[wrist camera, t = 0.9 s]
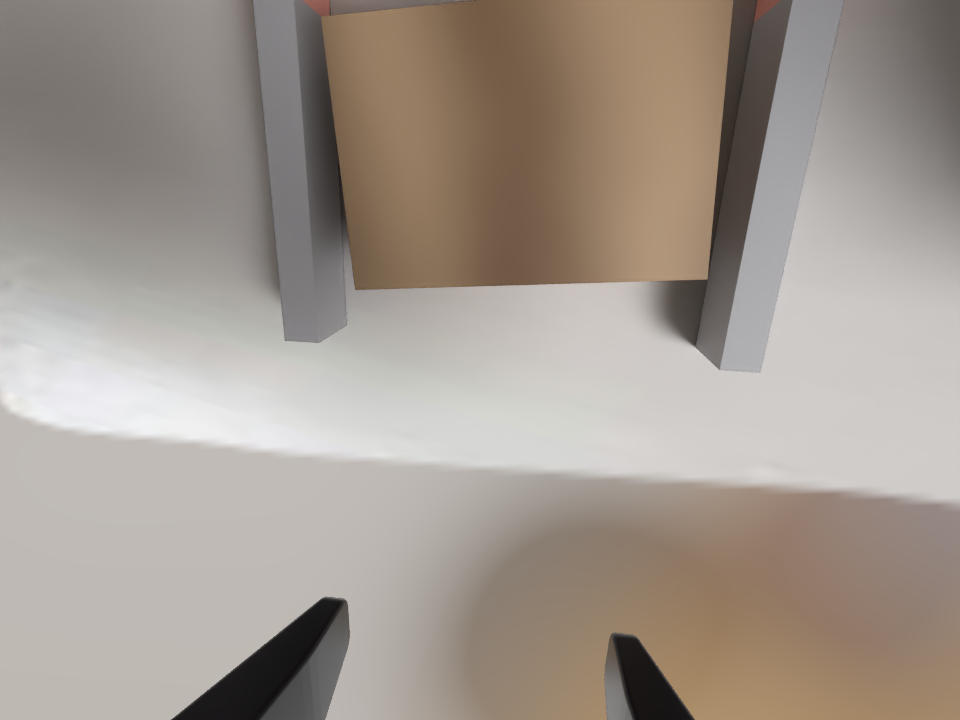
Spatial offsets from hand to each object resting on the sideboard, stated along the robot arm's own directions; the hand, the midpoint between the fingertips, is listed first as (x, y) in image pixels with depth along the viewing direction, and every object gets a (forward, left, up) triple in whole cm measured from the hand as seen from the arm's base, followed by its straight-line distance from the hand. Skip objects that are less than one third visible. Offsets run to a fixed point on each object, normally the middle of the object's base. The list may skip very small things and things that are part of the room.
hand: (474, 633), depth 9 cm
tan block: (0, -8, -11) cm, 14 cm away
